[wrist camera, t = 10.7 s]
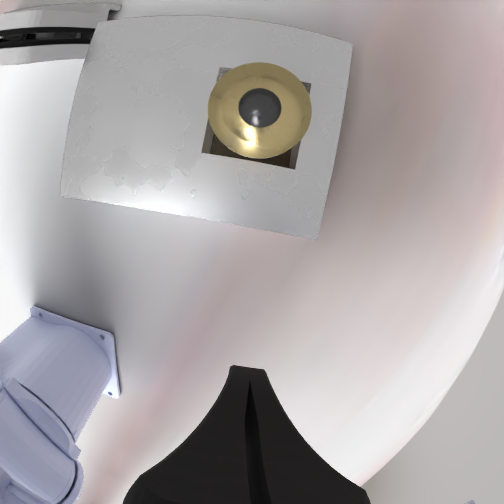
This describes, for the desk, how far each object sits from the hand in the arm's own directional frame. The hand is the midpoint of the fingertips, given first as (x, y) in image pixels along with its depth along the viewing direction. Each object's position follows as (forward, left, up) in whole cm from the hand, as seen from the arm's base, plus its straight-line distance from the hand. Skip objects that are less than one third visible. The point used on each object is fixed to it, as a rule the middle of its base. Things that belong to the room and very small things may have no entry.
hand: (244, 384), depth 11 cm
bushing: (-1, +11, -9) cm, 14 cm away
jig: (-5, +11, -9) cm, 15 cm away
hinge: (-22, +18, -10) cm, 30 cm away
